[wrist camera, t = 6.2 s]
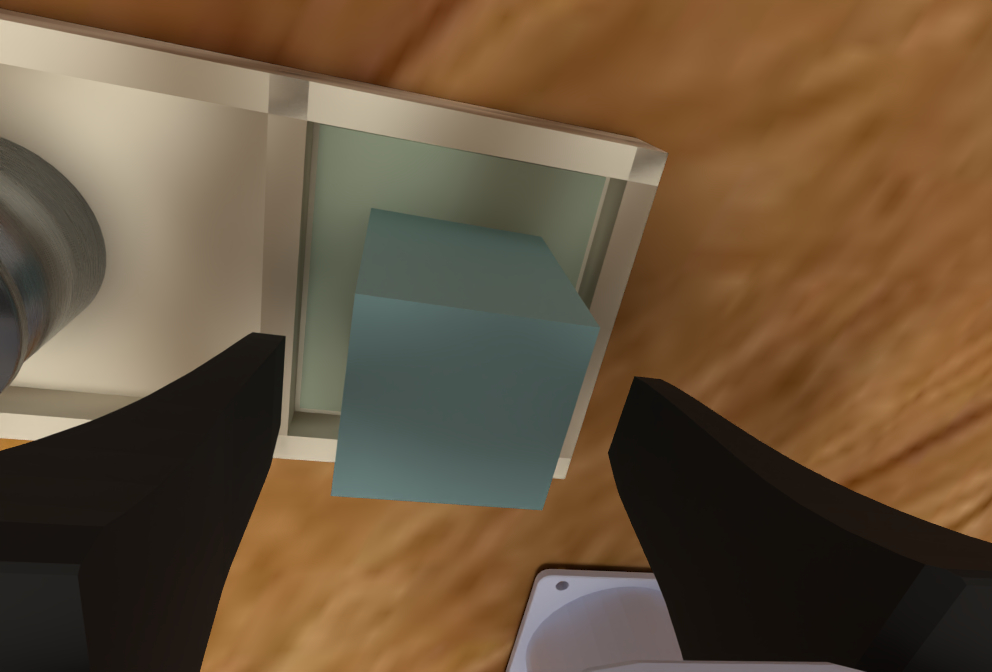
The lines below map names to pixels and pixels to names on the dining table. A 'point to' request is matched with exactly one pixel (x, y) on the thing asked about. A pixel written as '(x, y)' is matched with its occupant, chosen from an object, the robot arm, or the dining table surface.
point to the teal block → (459, 365)
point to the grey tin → (42, 255)
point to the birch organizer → (278, 212)
